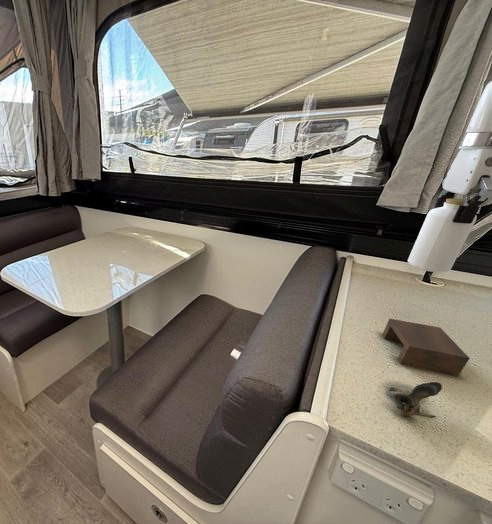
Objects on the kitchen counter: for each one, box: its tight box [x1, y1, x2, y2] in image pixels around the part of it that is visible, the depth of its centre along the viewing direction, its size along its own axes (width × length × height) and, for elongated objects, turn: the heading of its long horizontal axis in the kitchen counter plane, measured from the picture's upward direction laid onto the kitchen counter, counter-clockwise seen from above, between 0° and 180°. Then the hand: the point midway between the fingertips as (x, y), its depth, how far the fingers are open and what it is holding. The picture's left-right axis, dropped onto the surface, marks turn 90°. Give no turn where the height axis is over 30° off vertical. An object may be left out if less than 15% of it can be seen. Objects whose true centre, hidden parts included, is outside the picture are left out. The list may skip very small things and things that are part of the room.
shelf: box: [381, 318, 471, 378], centre depth 64 cm, size 10×11×6 cm
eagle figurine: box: [386, 381, 443, 419], centre depth 51 cm, size 8×7×9 cm
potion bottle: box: [407, 198, 478, 273], centre depth 69 cm, size 8×8×18 cm
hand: (450, 217), depth 67 cm, fingers closed on potion bottle, 8 cm apart
